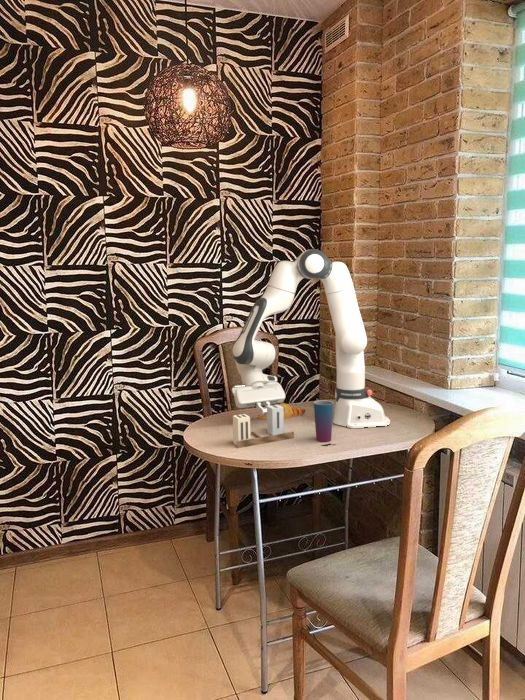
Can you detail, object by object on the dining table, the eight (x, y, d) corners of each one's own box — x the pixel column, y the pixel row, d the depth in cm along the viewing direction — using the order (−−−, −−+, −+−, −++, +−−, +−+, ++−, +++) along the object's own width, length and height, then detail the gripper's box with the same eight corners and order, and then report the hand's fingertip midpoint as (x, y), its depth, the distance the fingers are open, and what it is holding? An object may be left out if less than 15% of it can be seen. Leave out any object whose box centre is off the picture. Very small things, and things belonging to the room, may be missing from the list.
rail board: (278, 432, 211) (278, 423, 210) (294, 441, 200) (293, 432, 199) (224, 442, 201) (224, 432, 200) (237, 452, 190) (237, 441, 190)
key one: (277, 430, 209) (277, 404, 207) (283, 433, 205) (283, 406, 203) (267, 432, 207) (266, 405, 205) (273, 435, 203) (272, 408, 201)
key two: (245, 441, 197) (244, 413, 196) (250, 445, 193) (250, 416, 191) (233, 443, 195) (232, 415, 194) (239, 447, 191) (238, 418, 189)
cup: (333, 440, 200) (333, 400, 198) (333, 447, 193) (333, 404, 191) (314, 440, 201) (313, 400, 198) (313, 446, 194) (313, 404, 192)
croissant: (260, 432, 224) (262, 417, 219) (251, 415, 231) (254, 400, 227) (307, 424, 231) (311, 410, 227) (298, 408, 239) (301, 394, 234)
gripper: (232, 381, 211) (243, 412, 204) (280, 376, 220) (292, 406, 213) (228, 390, 216) (238, 421, 209) (274, 385, 225) (286, 414, 218)
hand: (266, 413), depth 211 cm, fingers closed
